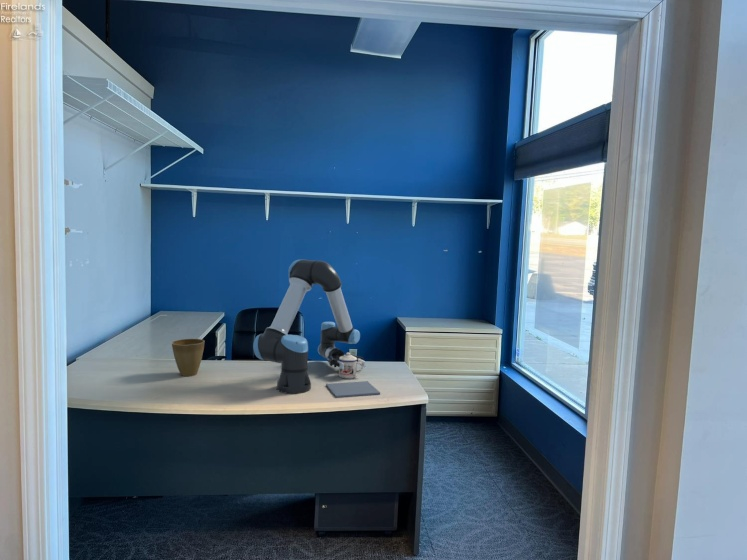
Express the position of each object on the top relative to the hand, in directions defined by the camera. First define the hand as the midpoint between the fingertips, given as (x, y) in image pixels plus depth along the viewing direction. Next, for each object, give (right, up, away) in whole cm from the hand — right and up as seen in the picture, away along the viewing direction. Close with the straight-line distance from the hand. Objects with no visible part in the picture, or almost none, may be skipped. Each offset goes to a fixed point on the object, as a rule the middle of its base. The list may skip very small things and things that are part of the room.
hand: (354, 365), depth 254 cm
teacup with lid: (-2, -6, +4) cm, 8 cm away
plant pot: (-80, -4, 0) cm, 80 cm away
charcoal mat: (0, -8, -17) cm, 19 cm away
